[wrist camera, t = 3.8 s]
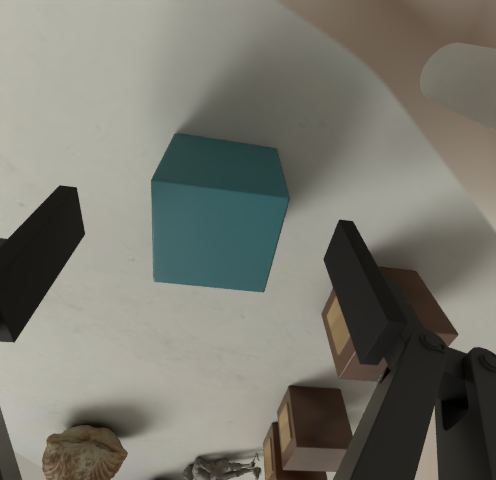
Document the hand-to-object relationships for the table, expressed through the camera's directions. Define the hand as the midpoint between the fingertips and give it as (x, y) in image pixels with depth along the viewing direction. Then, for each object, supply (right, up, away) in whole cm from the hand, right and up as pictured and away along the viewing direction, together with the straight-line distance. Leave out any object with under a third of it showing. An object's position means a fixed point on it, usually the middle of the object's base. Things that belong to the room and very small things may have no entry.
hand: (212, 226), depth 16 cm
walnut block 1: (+9, -19, +20) cm, 30 cm away
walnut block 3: (+12, -5, +10) cm, 16 cm away
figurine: (-2, -34, +31) cm, 46 cm away
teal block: (0, +3, +4) cm, 5 cm away
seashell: (-17, -24, +24) cm, 38 cm away
